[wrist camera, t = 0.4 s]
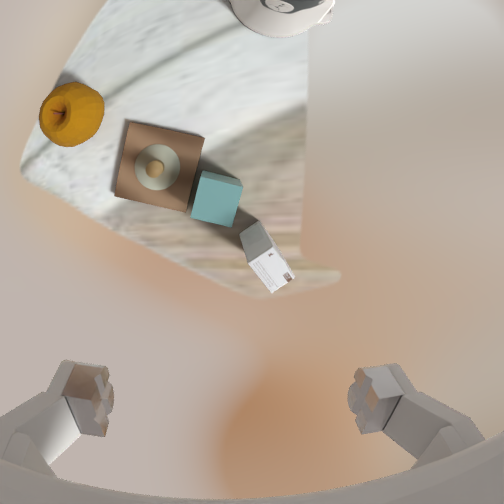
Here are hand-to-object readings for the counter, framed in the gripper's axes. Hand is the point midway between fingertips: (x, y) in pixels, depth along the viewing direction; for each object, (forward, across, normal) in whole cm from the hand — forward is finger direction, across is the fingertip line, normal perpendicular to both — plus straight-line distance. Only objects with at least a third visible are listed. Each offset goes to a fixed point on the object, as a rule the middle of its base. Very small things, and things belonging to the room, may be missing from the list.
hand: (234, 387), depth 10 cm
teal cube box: (+44, 0, +3) cm, 44 cm away
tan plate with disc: (+44, +10, -1) cm, 45 cm away
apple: (+44, +22, -10) cm, 50 cm away
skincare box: (+44, -7, +10) cm, 46 cm away
